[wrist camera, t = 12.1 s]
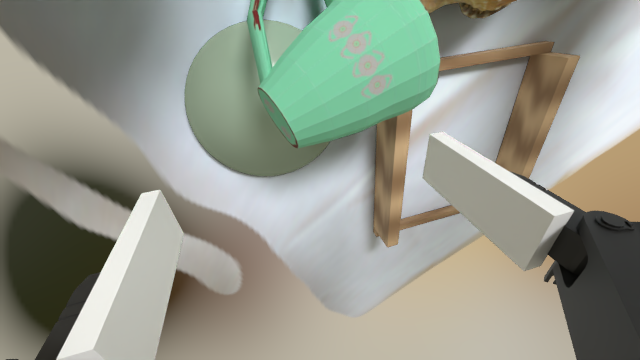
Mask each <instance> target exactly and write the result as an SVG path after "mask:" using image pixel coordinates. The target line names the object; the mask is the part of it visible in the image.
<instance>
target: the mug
mask: <svg viewBox="0 0 640 360" xmlns="http://www.w3.org/2000/svg"><path fill="white" fill-rule="evenodd" d="M324 1H325V4H326V7H327V8H326V9H325V10H324V11H323V12H322V13H321V14H320V15H318V16H317V17H316V18H315V19H314V20H313V21H312V22H311V23H310V24H308V25H307V26H306V27H305V28H304V29H303V31H302V32H301V33H300V34H299V35H298V36H297V38H296V39H295V40H294V41H293V42H292V43H291V45H290V46H289V47H288V48H287V49H286V51H285V52H284V53H283V54H282V55H281V56H280V58H279V59H278V61H277V62H276V63H275V65H274V66H273V67H272V62H271V57H270V52H269V47H268V42H267V37H266V33H265V28H264V22H263V15H264V11H265V7H266V3H267V0H251V1H250V7H249V12H248V17H247V24H248V29H249V33H250V38H251V43H252V47H253V52H254V57H255V62H256V66H257V71H258V76H259V80H260V86H259V87H258V89H257V90H258V94H259V96H260V99H261V101H262V103H263V105H264V107H265V109H266V110H267V112H268V114H269V115H270V117H271V119H272V120H273V122H274V123H275V125H276V126H277V128H278V129H279V130H280V132H281V133H282V134H283V136H284V137H285V138H286V139H287V140H288V142H289V143H290V144H291V145H292V146H294V147H295V148H302V147H306V146H310V145H315V144H319V143H324V142H328V141H332V140H335V139H338V138H341V137H345V136H348V135H351V134H354V133H358V132H361V131H363V130H365V129H367V128H369V127H371V126H374V125H376V124H378V123H380V122H382V121H385V120H387V119H390V118H393V117H396V116H398V115H401V114H404V113H406V112H409V111H410V110H412V109H414V108H415V107H416V106H418V105H419V104H421V103H422V102H423V101H425V100H426V99H428V98H429V97H430V95H431V93H432V92H433V90H434V88H435V86H436V84H437V81H438V75H439V68H440V54H439V46H438V38H437V35H436V32H435V29H434V27H433V24H432V21H431V19H430V16H429V13H428V11H427V9H426V8H425V7H424V5H423V4H422V2H421V1H420V0H324Z"/></svg>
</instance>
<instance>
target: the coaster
mask: <svg viewBox="0 0 640 360" xmlns="http://www.w3.org/2000/svg"><path fill="white" fill-rule="evenodd" d="M263 22H264V28H265V33H266V37H267V42H268V47H269V52H270V57H271V62H272V67H273V66H274V65H275V63H276V62H277V61H278V59H279V58H280V56H281V55H282V54H283V53H284V52H285V51H286V49H287V48H288V47H289V46H290V45H291V43H292V42H293V41H294V40H295V39H296V38H297V36H298V35H299V34H300V33H301V32H302V31H301V30H300V29H298V28H296V27H293V26H291V25H289V24H285V23H281V22H278V21H271V20H263ZM259 86H260V80H259V76H258V71H257V66H256V62H255V57H254V52H253V47H252V43H251V38H250V33H249V29H248V24H247V21H245V22H240V23H237V24H234V25H232V26H229V27H227V28H225V29H224V30H222V31H220V32H218V33H217V34H216V35H214V36H213V37H212V38H211V39H209V41H208V42H207V43H206V44H205V45H204V46H203V47H202V48H201V49H200V51H199V52H198V54H197V55H196V57H195V58H194V60H193V62H192V65H191V67H190V69H189V72H188V76H187V79H186V85H185V107H186V113H187V117H188V120H189V123H190V126H191V128H192V130H193V132H194V134H195V136H196V137H197V139H198V140H199V142H200V143H201V145H202V146H203V147H204V148H205V149H206V151H208V152H209V153H210V154H211V155H212V156H213V157H214V158H215V159H217V160H218V161H219V162H221V163H222V164H224V165H226V166H228V167H229V168H232V169H234V170H236V171H239V172H242V173H245V174H250V175H256V176H276V175H282V174H286V173H289V172H292V171H295V170H297V169H300V168H302V167H303V166H305V165H307V164H308V163H310V162H311V161H313V160H314V159H315V158H316V157H317V156H319V155H320V154H321V153H322V152H323V150H324V149H325V148H326V147H327V146H328V144H329V143H330V141H328V142H324V143H319V144H315V145H310V146H306V147H302V148H295V147H294V146H292V145H291V144H290V143H289V142H288V140H287V139H286V138H285V137H284V136H283V134H282V133H281V132H280V130H279V129H278V128H277V126H276V125H275V123H274V122H273V120H272V119H271V117H270V115H269V114H268V112H267V110H266V109H265V107H264V105H263V103H262V101H261V99H260V96H259V94H258V90H257V89H258V87H259Z"/></svg>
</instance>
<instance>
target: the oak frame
mask: <svg viewBox="0 0 640 360" xmlns="http://www.w3.org/2000/svg"><path fill="white" fill-rule="evenodd" d="M553 45H554V42H550V41H543V42H537V43H531V44H524V45H518V46H512V47H505V48H499V49H493V50H487V51H480V52H474V53H468V54H461V55H455V56H449V57H442V58H440V68H439V71H442V70H448V69H454V68H460V67H466V66H472V65H478V64H484V63H490V62H496V61H502V60H508V59H513V58H519V57H525V56H530V58H529V61H528V64H527V67H526V70H525V73H524V77H523V80H522V83H521V86H520V89H519V92H518V95H517V98H516V101H515V104H514V107H513V111H512V114H511V117H510V120H509V123H508V126H507V129H506V132H505V135H504V138H503V141H502V145H501V148H500V151H499V154H498V157H497V160H496V164H498V165H499V166H501V167H503V168H504V169H506V170H508V171H511V172H514V173H517V174H519V175H522V176H525V177H526V178H528V179H529V177H530V175H531V172H532V170H533V167H534V165H535V163H536V160H537V158H538V156H539V153H540V151H541V148H542V146H543V144H544V141H545V139H546V136H547V134H548V132H549V129H550V127H551V125H552V122H553V120H554V117H555V115H556V113H557V110H558V108H559V106H560V103H561V101H562V98H563V96H564V94H565V91H566V89H567V86H568V84H569V82H570V79H571V77H572V75H573V72H574V70H575V67H576V65H577V63H578V60H579V58H580V56H578V55H570V54H562V53H553V52H551V50H552V47H553ZM411 118H412V110H410V111H409V112H406V113H404V114H401V115H398V116H396V117H393V118H390V119H387V120H385V121H382V122H380V123H378V124H377V137H376V168H375V198H374V229H373V232H374V234H375V235H376V237H378V236H380V237H381V239H382V240H383V242H384V243H385V245H386V246H387V247H391V246H394V245H397V244H398V239H399V230H402V229H406V228H409V227H413V226H416V225H420V224H423V223H427V222H430V221H434V220H437V219H441V218H444V217H448V216H451V215H455V214H458V213H460V212H459V211H458V210H457V209H456V208H454V207H453V206H452V205H451V206H447V207H443V208H440V209H436V210H433V211H429V212H425V213H422V214H418V215H415V216H411V217H407V218H404V219H401V211H402V202H403V192H404V183H405V174H406V164H407V155H408V146H409V137H410V127H411Z"/></svg>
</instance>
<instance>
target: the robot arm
mask: <svg viewBox="0 0 640 360" xmlns="http://www.w3.org/2000/svg"><path fill="white" fill-rule="evenodd" d="M423 179H424V180H425V181H426V182H427V183H428V184H429V185H430V186H432V187H433V188H434V189H435V190H436V191H437V192H438V193H439V194H440V195H441V196H442V197H444V198H445V199H446V200H447V201H448V202H449V203H450V204H451V205H452V206H453V207H454V208H456V209H457V210H458V211H459V212H460V213H461V214H462V215H463V216H464V217H465V218H466V219H468V220H469V221H470V222H471V223H472V224H473V225H474V226H475V227H476V228H477V229H478V230H480V231H481V232H482V233H483V234H484V235H485V236H486V237H487V238H488V239H489V240H490V241H492V242H493V243H494V244H495V245H496V246H497V247H498V248H499V249H500V250H501V251H502V252H504V253H505V254H506V255H507V256H508V257H509V258H510V259H511V260H512V261H513V262H515V264H517V265H518V266H519V267H520V268H521V269H522V270H523V271H526V270H529V269H533V268H535V267H538V266H541V265H542V263H543V261H544V260H545V258H546V257H547V255H549V256H550V257H552V258H553V259H554V260H555V261H554V263H553V264H552V266H551V267H550V269H549V270H548V272H547V274H546V275H545V277H544V281H545V282H548V281H549V279H550V278H551V277H552V276H553V275H554V277H555V281H554V282H553V284H556V285H557V288H558V292H559V295H560V299H561V302H562V307H563V310H564V314H565V318H566V321H567V325H568V329H569V332H570V336H571V340H572V344H573V348H574V351H575V355H576V359H577V360H640V222H629V221H628V220H626V219H624V218H622V217H620V216H617V215H615V214H611V213H608V212H604V211H590V212H587V213H586V212H584V211H583V210H581V209H579V208H578V207H576V206H574V205H572V204H571V203H569V202H567V201H566V200H564V199H562V198H561V197H559V196H557V195H555V194H554V193H552V192H550V191H549V190H547V191H546V189H545V188H543V187H542V186H540V185H536V183H535V182H533V181H532V180H530V179H528V178H526V177H525V176H522V175H519V174H517V173H514V172H511V171H508V170H506V169H504V168H503V167H501V166H499V165H498V164H496V163H494V162H493V161H491V160H489V159H488V158H486V157H484V156H483V155H481V154H479V153H478V152H476V151H474V150H473V149H471V148H469V147H468V146H466V145H464V144H463V143H461V142H459V141H458V140H456V139H454V138H453V137H451V136H449V135H448V134H446V133H444V132H438V133H433V134H430V136H429V142H428V148H427V154H426V160H425V166H424V172H423ZM183 237H184V233H183V231H182V230H181V228H180V226H179V224H178V222H177V220H176V218H175V216H174V214H173V213H172V211H171V209H170V207H169V205H168V203H167V201H166V199H165V197H164V196H163V194H162V192H161V190H157V191H152V192H146V193H142V194H141V195H140V197H139V200H138V201H137V203H136V205H135V207H134V209H133V211H132V213H131V215H130V217H129V219H128V221H127V223H126V225H125V227H124V228H123V230H122V232H121V234H120V236H119V238H118V240H117V242H116V244H115V246H114V248H113V250H112V252H111V254H110V256H109V258H108V260H107V262H106V263H105V265H104V267H103V269H102V271H101V272H100V273H96V274H92V275H89V276H88V277H87V278H86V279H85V280H84V281H83V282H82V283H81V284H80V285H79V286H78V288H76V289H75V291H74V292H73V294H72V296H71V298H70V300H69V301H68V303H67V305H66V308H65V309H64V310H63V312H62V314H61V315H60V317H59V321H58V322H56V324H55V326H54V327H53V329H52V331H51V333H50V334H49V336H48V338H47V339H46V341H45V343H44V345H43V346H42V348H41V350H40V352H39V353H38V355H37V357H36V359H35V360H155V357H156V352H157V348H158V344H159V339H160V335H161V331H162V326H163V322H164V318H165V314H166V310H167V305H168V301H169V297H170V292H171V288H172V283H173V279H174V275H175V271H176V267H177V262H178V258H179V254H180V250H181V245H182V241H183ZM6 360H18V359H6Z"/></svg>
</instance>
